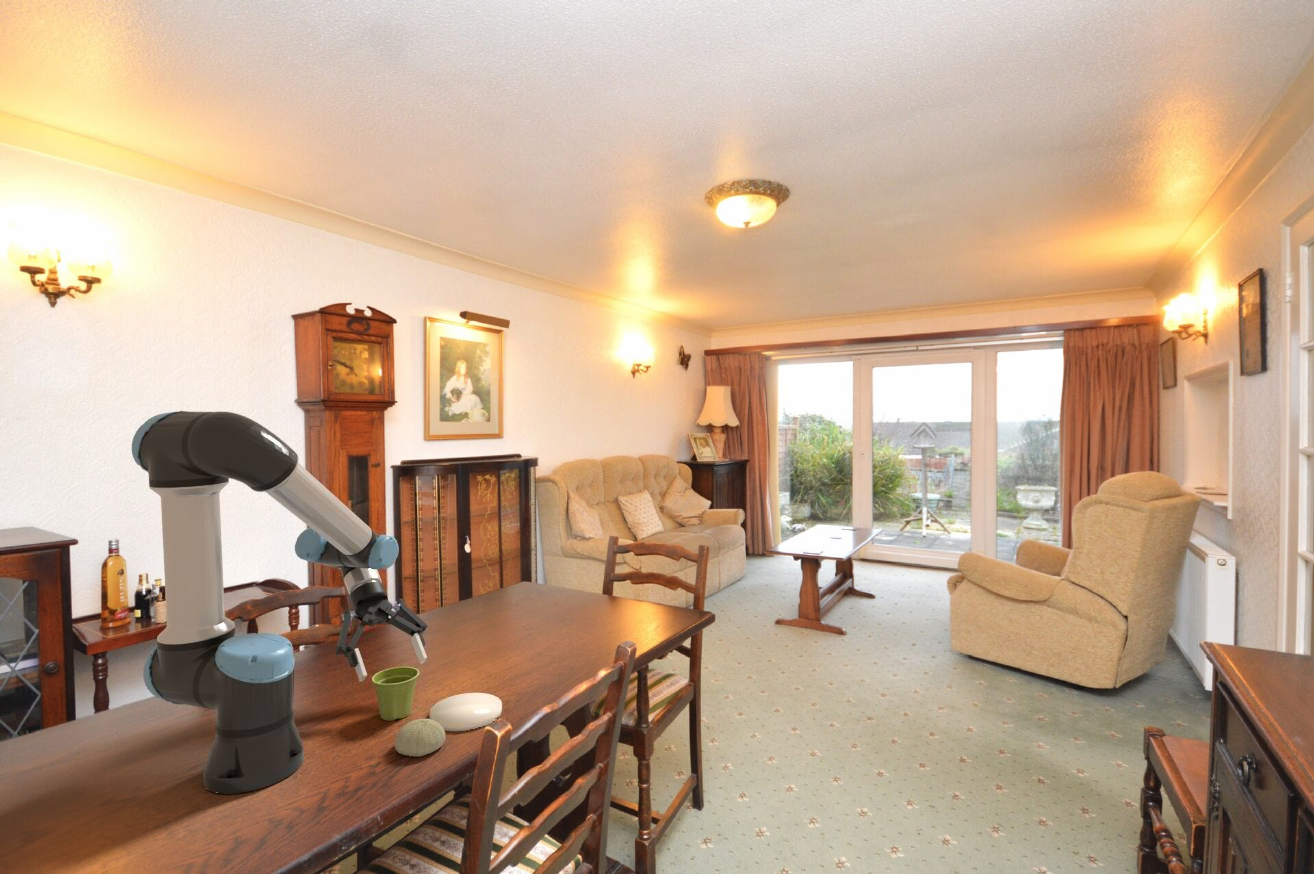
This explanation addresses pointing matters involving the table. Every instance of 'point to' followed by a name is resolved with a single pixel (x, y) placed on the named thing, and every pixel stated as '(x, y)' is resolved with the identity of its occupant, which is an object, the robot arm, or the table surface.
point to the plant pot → (395, 691)
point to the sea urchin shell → (420, 737)
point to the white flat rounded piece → (466, 711)
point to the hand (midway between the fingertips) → (394, 669)
